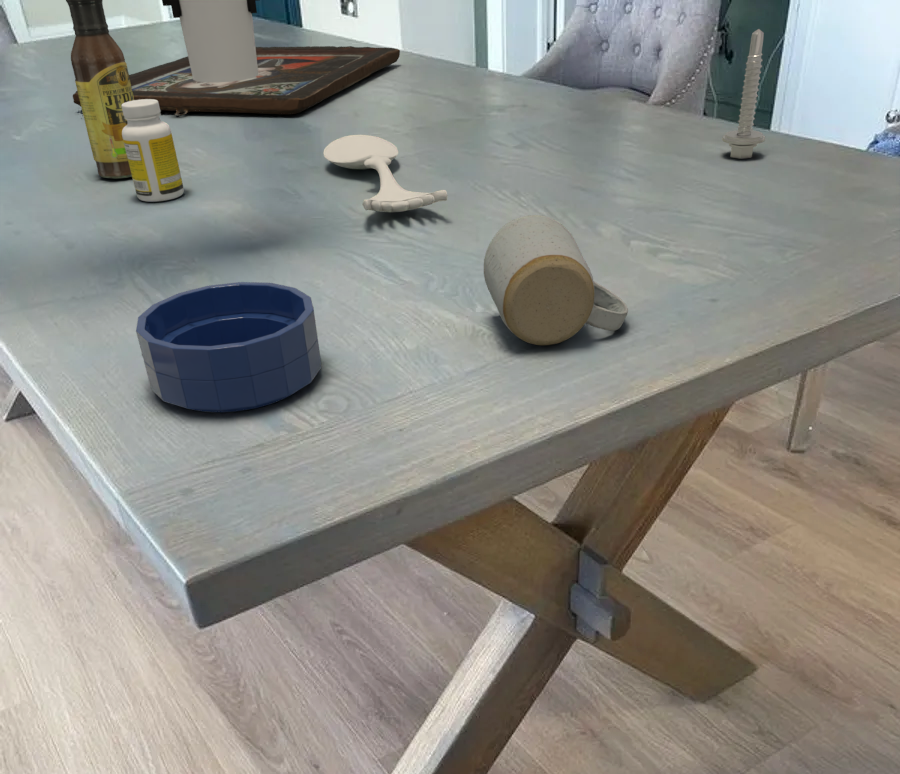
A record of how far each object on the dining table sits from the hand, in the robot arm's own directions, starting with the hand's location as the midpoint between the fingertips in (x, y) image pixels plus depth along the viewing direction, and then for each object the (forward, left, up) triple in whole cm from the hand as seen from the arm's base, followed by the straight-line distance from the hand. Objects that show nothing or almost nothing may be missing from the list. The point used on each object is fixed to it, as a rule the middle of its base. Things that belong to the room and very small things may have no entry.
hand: (214, 11), depth 80 cm
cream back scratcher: (-2, +22, -20) cm, 30 cm away
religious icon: (-61, +63, -20) cm, 90 cm away
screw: (+30, +51, -20) cm, 63 cm away
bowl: (+19, -23, -20) cm, 36 cm away
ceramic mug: (+35, -4, -20) cm, 41 cm away
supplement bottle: (-24, +9, -20) cm, 32 cm away
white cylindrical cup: (0, 0, -5) cm, 5 cm away
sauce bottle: (-36, +14, -20) cm, 43 cm away
